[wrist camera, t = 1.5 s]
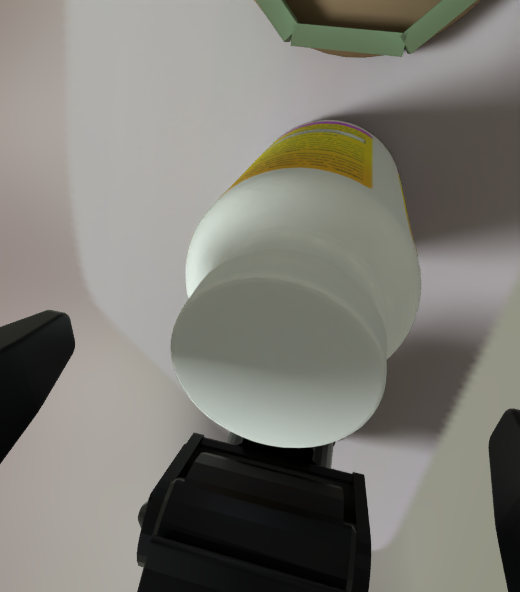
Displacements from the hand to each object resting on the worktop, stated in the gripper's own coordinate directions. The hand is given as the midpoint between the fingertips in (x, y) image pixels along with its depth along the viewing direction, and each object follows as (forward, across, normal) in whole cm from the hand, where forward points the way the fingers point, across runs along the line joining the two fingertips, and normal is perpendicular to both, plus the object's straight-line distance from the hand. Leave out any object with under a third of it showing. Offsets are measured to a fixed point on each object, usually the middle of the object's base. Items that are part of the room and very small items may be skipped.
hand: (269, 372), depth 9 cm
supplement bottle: (+13, 0, +1) cm, 13 cm away
